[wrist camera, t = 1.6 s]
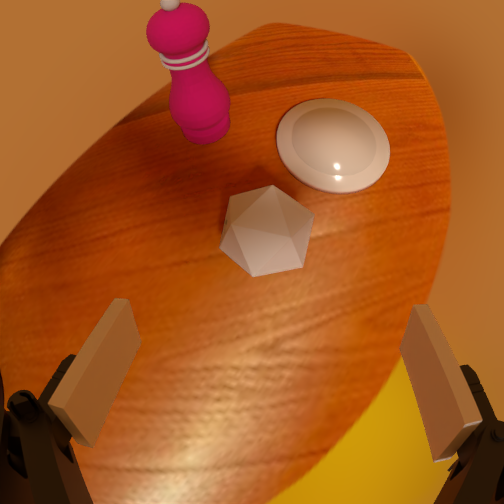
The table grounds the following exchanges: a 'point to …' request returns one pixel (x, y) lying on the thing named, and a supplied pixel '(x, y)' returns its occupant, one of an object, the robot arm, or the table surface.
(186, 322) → the table surface
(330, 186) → the plate
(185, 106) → the pepper mill
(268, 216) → the die
